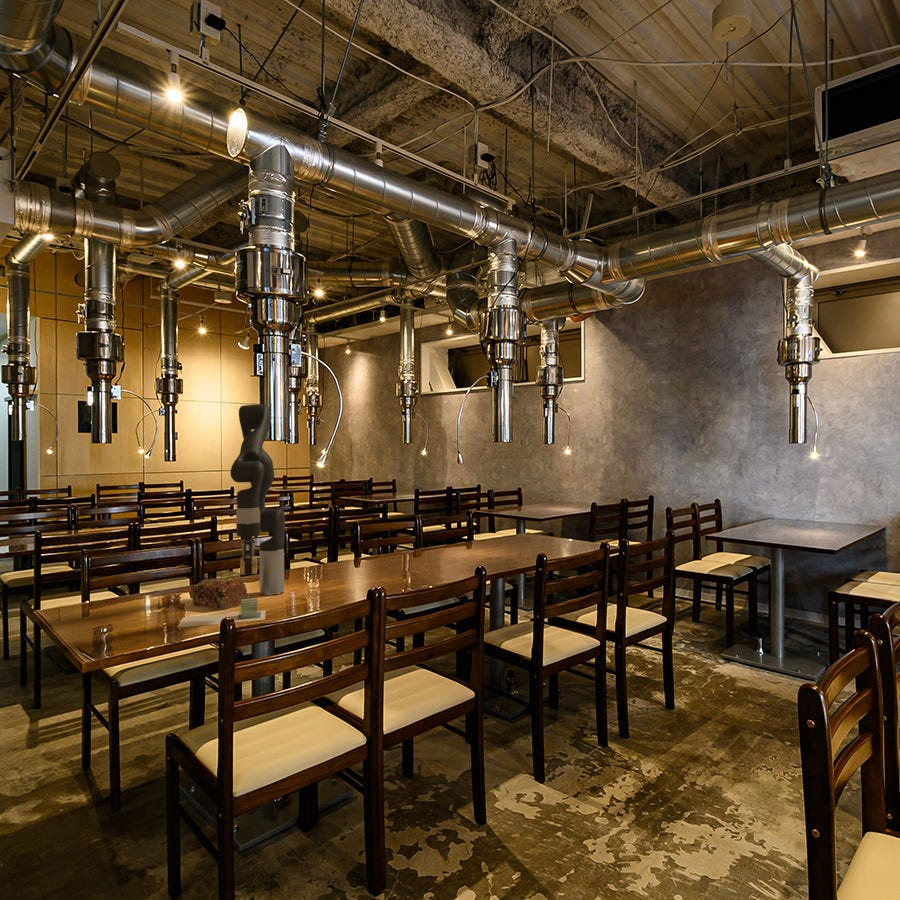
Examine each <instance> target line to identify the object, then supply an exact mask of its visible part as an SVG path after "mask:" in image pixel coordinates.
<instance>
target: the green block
mask: <svg viewBox="0 0 900 900" xmlns="http://www.w3.org/2000/svg"><path fill="white" fill-rule="evenodd" d="M258 606H259V605H258V598H247V599H242V600H241V606H240V612H241V618H251V617H257V614H258V611H259V609H258Z"/></svg>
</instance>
